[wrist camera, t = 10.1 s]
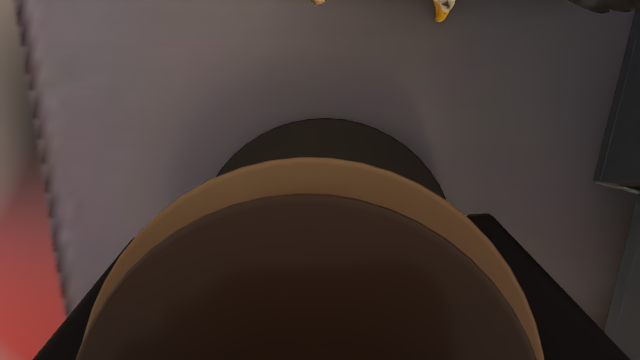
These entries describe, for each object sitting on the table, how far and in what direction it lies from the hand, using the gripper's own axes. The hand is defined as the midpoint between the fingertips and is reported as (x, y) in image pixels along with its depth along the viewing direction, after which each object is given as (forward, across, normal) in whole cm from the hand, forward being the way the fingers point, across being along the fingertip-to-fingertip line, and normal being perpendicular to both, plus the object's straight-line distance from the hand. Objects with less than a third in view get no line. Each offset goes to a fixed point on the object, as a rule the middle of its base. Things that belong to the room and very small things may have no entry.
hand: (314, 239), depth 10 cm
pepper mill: (+4, 0, +6) cm, 7 cm away
